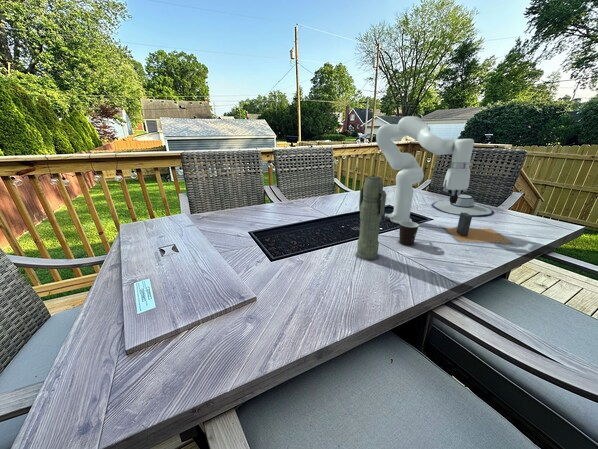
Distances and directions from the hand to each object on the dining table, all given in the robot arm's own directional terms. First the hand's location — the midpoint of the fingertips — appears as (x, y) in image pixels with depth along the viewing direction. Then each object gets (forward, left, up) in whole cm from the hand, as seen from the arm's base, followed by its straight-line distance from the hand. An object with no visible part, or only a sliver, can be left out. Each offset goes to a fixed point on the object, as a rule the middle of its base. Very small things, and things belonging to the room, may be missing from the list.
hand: (452, 202), depth 125 cm
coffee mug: (-22, -12, -18) cm, 31 cm away
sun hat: (+30, +50, -18) cm, 61 cm away
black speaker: (+8, 0, -17) cm, 19 cm away
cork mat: (+15, 0, -18) cm, 23 cm away
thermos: (-44, -28, -18) cm, 55 cm away
